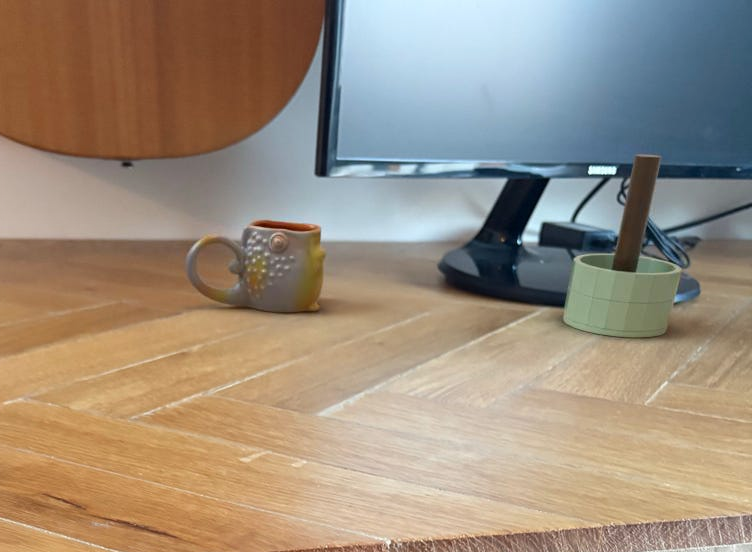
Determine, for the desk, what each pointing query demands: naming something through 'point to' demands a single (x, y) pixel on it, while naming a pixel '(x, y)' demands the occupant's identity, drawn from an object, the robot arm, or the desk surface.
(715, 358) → the desk surface
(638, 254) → the stick
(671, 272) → the bowl
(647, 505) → the desk surface
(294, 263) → the mug
